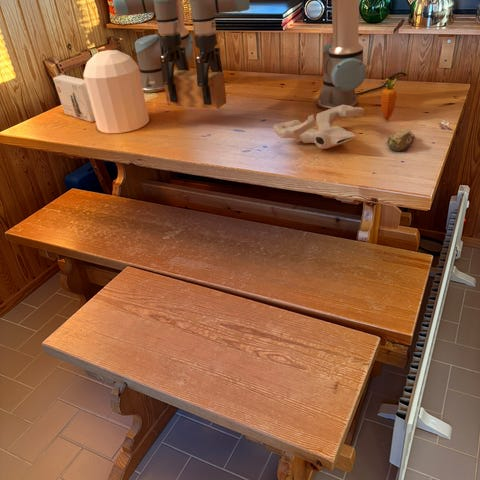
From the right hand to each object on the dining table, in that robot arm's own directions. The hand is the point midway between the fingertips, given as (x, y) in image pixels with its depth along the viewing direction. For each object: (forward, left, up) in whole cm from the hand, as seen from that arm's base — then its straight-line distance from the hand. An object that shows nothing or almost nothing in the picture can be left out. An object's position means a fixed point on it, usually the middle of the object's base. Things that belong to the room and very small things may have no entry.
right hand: (213, 100), depth 170 cm
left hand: (+11, -10, 0) cm, 15 cm away
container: (+33, -21, -10) cm, 41 cm away
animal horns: (-29, +35, -10) cm, 47 cm away
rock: (-50, +46, -10) cm, 69 cm away
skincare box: (+50, -39, -10) cm, 64 cm away
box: (+5, -5, -2) cm, 7 cm away
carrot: (-57, +25, -10) cm, 63 cm away
